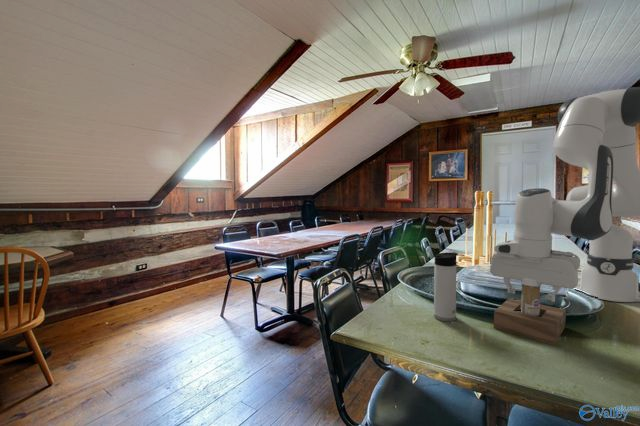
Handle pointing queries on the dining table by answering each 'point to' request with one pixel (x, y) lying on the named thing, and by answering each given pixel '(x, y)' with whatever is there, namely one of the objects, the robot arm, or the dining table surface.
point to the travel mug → (445, 286)
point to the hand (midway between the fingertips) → (530, 297)
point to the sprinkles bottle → (530, 297)
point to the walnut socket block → (530, 321)
